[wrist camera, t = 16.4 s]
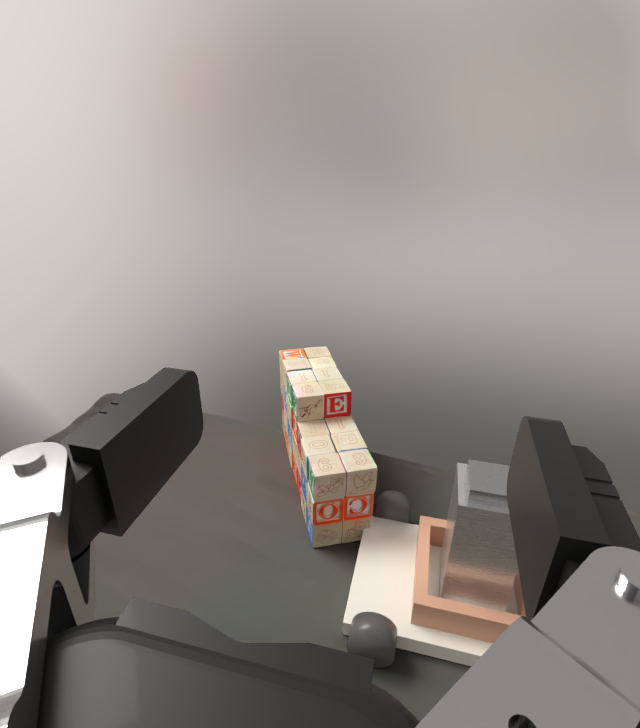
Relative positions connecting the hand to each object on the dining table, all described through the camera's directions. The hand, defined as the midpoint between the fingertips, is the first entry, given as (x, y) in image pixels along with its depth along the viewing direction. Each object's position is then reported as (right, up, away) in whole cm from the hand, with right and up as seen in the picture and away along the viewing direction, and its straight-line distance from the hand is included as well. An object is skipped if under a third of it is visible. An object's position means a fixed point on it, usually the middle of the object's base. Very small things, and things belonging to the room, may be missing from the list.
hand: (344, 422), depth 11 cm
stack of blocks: (-1, -12, +44) cm, 45 cm away
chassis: (+12, -19, +29) cm, 37 cm away
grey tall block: (+12, -18, +28) cm, 36 cm away
